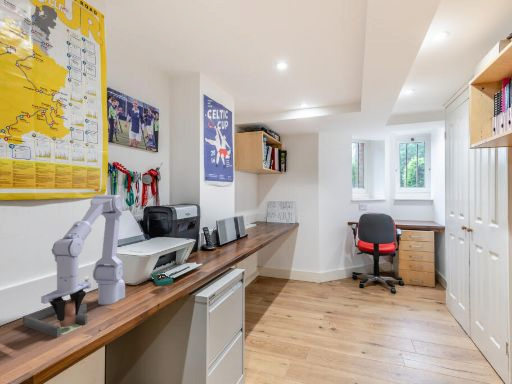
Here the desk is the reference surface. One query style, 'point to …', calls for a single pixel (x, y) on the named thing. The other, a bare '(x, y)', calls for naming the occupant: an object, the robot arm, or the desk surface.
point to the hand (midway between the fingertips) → (68, 317)
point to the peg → (69, 314)
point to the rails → (36, 324)
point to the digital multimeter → (162, 279)
